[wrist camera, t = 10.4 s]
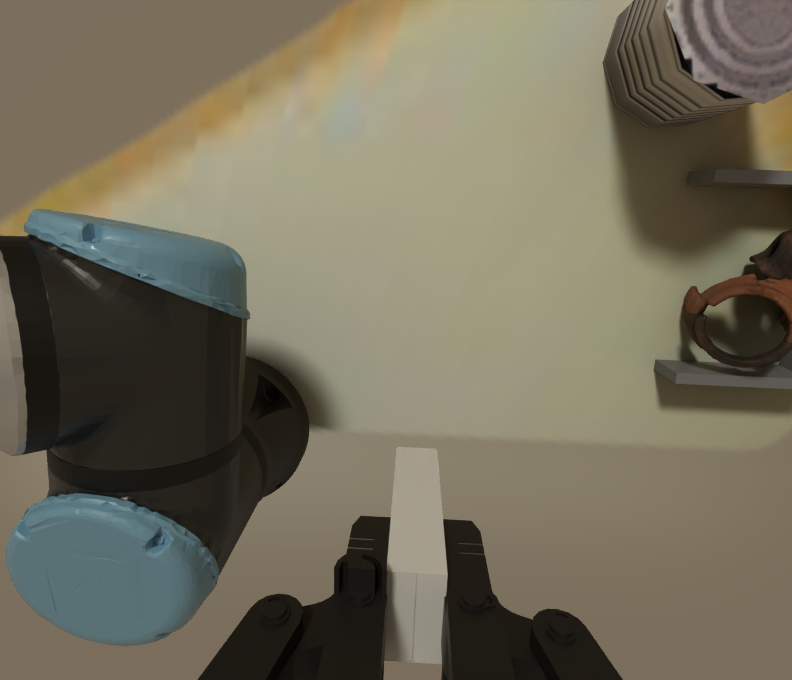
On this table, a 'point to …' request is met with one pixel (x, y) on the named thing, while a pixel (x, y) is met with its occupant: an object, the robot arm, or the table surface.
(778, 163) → the table surface
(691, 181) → the box
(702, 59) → the can
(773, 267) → the brown ring with knob
